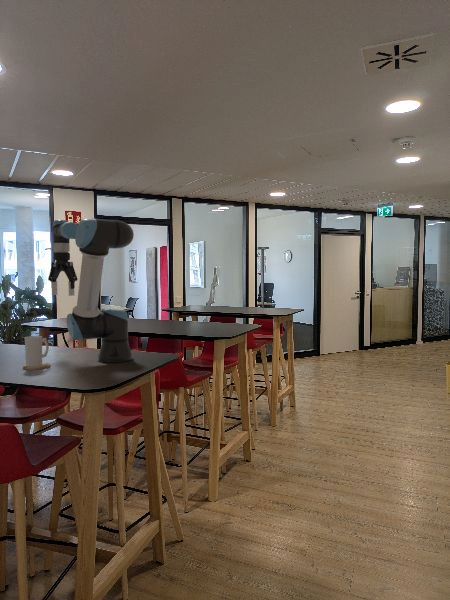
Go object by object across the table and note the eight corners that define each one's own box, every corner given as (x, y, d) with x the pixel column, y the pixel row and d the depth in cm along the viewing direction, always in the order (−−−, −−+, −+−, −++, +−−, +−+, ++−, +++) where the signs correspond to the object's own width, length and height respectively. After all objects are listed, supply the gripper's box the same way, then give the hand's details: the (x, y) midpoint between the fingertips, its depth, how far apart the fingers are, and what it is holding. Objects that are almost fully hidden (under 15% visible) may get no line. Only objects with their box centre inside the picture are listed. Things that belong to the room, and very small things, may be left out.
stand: (56, 366, 197) (55, 364, 197) (32, 371, 188) (32, 368, 188) (40, 363, 203) (40, 361, 203) (17, 368, 194) (17, 365, 194)
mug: (30, 367, 190) (29, 338, 189) (22, 365, 194) (21, 337, 193) (53, 363, 197) (52, 336, 197) (44, 362, 202) (44, 334, 201)
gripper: (84, 251, 223) (85, 295, 224) (53, 253, 237) (54, 294, 238) (71, 251, 217) (72, 296, 218) (40, 252, 231) (41, 295, 232)
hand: (63, 295), depth 228 cm, fingers open, 13 cm apart
